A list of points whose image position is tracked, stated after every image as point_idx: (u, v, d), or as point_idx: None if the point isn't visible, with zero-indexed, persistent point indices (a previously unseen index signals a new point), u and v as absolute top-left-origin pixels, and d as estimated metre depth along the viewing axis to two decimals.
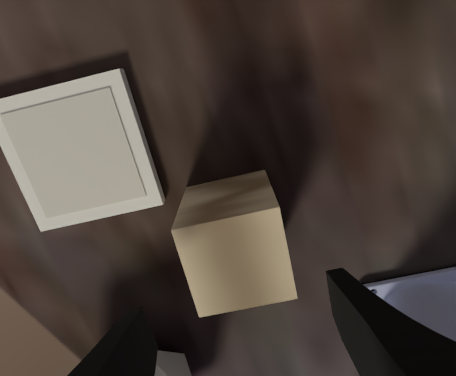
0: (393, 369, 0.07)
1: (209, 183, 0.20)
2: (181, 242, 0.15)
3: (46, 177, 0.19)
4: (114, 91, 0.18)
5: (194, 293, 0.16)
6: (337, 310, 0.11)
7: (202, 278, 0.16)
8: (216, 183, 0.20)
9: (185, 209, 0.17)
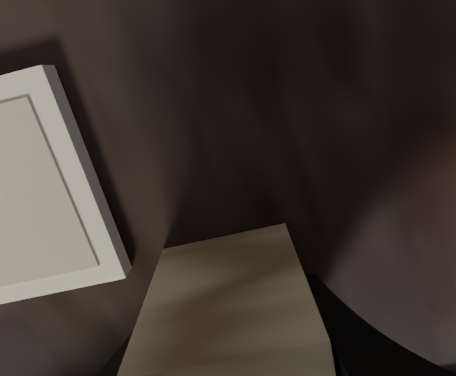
0: None
1: (198, 245, 0.13)
2: None
3: None
4: (36, 102, 0.11)
5: None
6: None
7: None
8: (209, 247, 0.12)
9: (152, 311, 0.10)
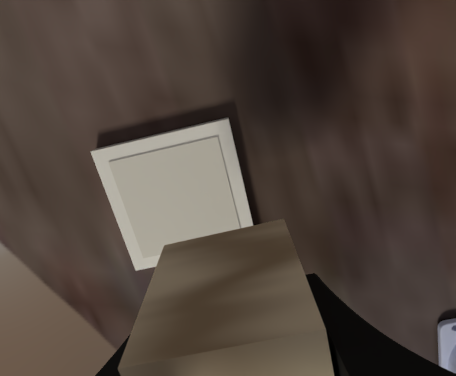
0: None
1: (198, 241, 0.13)
2: None
3: (147, 219, 0.20)
4: (221, 139, 0.18)
5: None
6: None
7: None
8: (209, 242, 0.13)
9: (153, 304, 0.10)
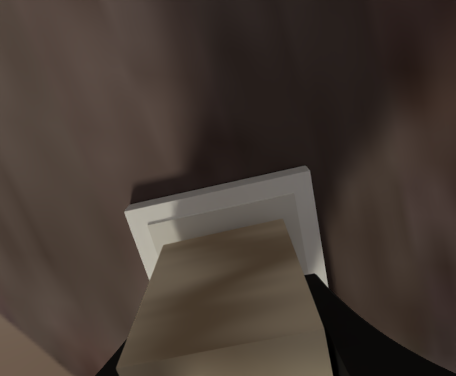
0: None
1: (197, 241, 0.13)
2: None
3: None
4: (299, 196, 0.14)
5: None
6: None
7: None
8: (208, 242, 0.13)
9: (152, 304, 0.10)
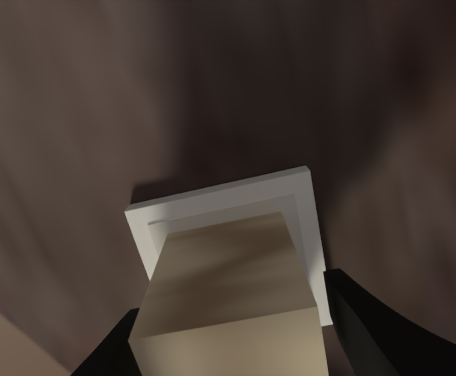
0: (388, 370, 0.07)
1: (200, 231, 0.14)
2: (147, 359, 0.09)
3: None
4: (299, 196, 0.14)
5: None
6: (334, 311, 0.11)
7: None
8: (210, 232, 0.13)
9: (159, 286, 0.11)
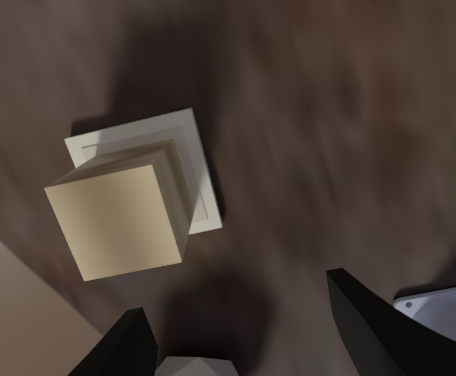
0: (393, 369, 0.07)
1: (116, 151, 0.20)
2: (56, 201, 0.15)
3: None
4: (185, 128, 0.20)
5: (76, 255, 0.16)
6: (337, 310, 0.11)
7: (82, 239, 0.15)
8: (122, 151, 0.19)
9: (74, 172, 0.17)
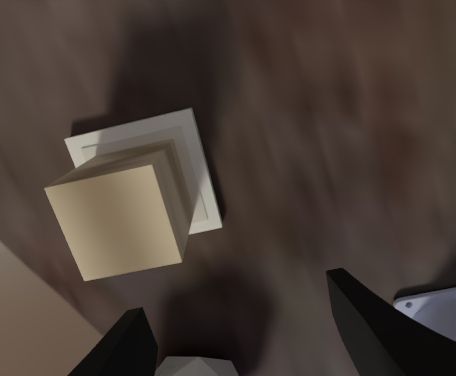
0: (393, 369, 0.07)
1: (116, 151, 0.20)
2: (56, 201, 0.15)
3: None
4: (185, 128, 0.20)
5: (76, 255, 0.16)
6: (337, 310, 0.11)
7: (82, 239, 0.15)
8: (122, 151, 0.19)
9: (74, 172, 0.17)
